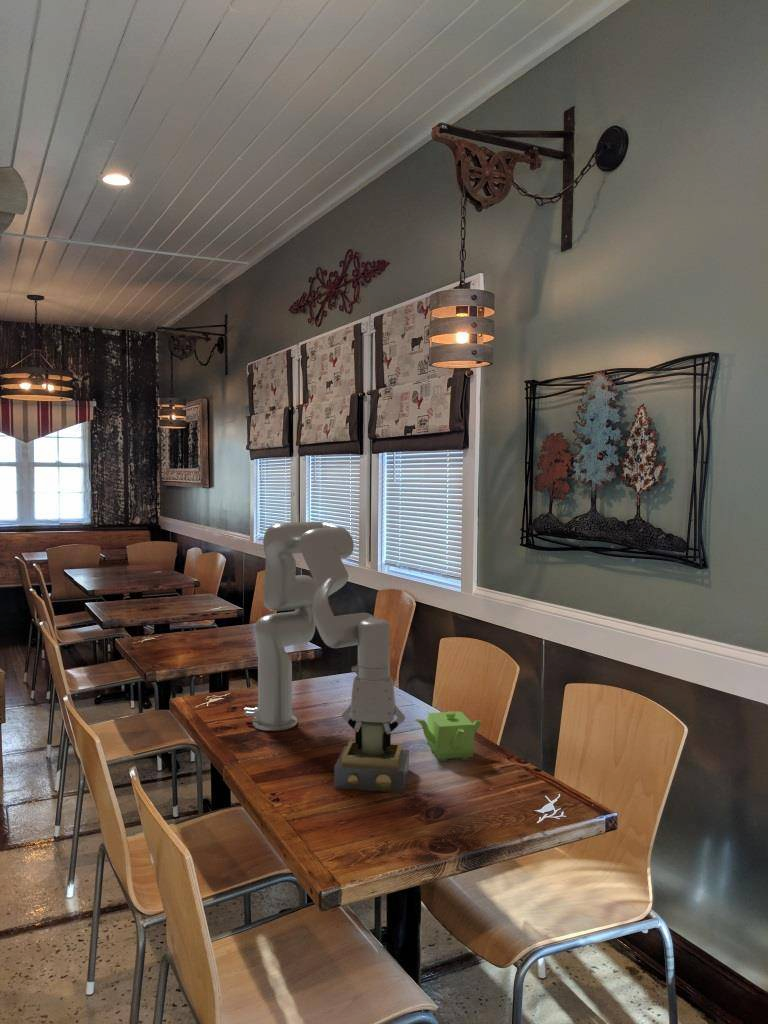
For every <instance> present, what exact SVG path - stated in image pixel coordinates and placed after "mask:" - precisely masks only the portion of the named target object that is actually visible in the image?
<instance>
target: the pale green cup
mask: <svg viewBox="0 0 768 1024" xmlns="http://www.w3.org/2000/svg"><path fill="white" fill-rule="evenodd" d="M384 733H385V728H384V725H383V723H369V722H362V723H361V753H362V754H364V755H367V756H379V755H382V754H384V752H385V751H384V750H383V746H384Z"/></svg>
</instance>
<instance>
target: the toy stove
mask: <svg viewBox="0 0 768 1024" xmlns="http://www.w3.org/2000/svg"><path fill="white" fill-rule="evenodd" d="M403 746H404V745H403V743H397V742H395V743H393V742H391V744H390V746H388V748H387V751H385V752H384V754H382V755H379V756H367V755H364V754H362V753H361V749H358V744H355V740H349V741H348V743H347V745H344V746H343V748H342V750H341V751H340V754H339V756H338V758H337V759H336V760H337V761H336V763H335V764H334V766H333V787H334V788H333V789H339V790H356V791H368V792H370V791H371V792H385V793H388V792H389V793H398V794H403V793H404V792H405V788H406V785H407V779H408V775H409V772H410V750H409V749H403Z"/></svg>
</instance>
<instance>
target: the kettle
mask: <svg viewBox="0 0 768 1024" xmlns="http://www.w3.org/2000/svg"><path fill="white" fill-rule="evenodd" d="M414 721H415V722H417V723H419V724H420V726H421V727H422V730H423V734H424V737H425V738H426V739H425V740H427V745H428V747H429V748H430V749H431V751H432V754H434V755H435V756H436V758H437V760H438V762H441V763H445V762H448V759H458V760H460V761H467V760H468V759H469V758H473V757H474V752H475V750H474V746H475V745H474V742H475V741H474V740H475V739H474V738H475V734H476V732H478V730H479V728H480V726H481V725H482V723H483V722H482V721H481V720H479V719H475V720H473V722H472V721H471V720H470V719H469V718H468V717H467V716H466V714H464V713H463V712H462V711H457V710H456V711H452V710H451V711H442V712H428V713H427V722H426V721H425V720H424V719H423V718H422V719H421V718H419V719H417V718H416V719H414Z"/></svg>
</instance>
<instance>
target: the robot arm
mask: <svg viewBox="0 0 768 1024" xmlns="http://www.w3.org/2000/svg"><path fill="white" fill-rule="evenodd" d="M262 541H263V542H262V543H263V544H262V545H263V546H262V547H263V551H264V559H265V567H264V580H263V592H262V593H263V596H262V600H263V605H264V607H265V608H266V609H267V610H269V611H272V612H278V613H271V614H266V615H264V616H261V617H260V618H258V620H257V621H256V622H255V624H254V631H253V632H254V638H255V642H256V643H255V644H256V650H257V701H258V702H257V706H256V707H255V708H254V707H245V708H243V714H244V715H245V717H249V718H250V717H251V718H252V717H253V719H252V727H254V728H255V729H258V730H261V731H266V732H278V731H285V730H288V729H289V730H290V729H292V728H294V727H295V726H297V724H298V718H297V717H296V716H295V715H293V713H292V712H293V710H292V709H293V706H292V705H293V700H292V699H293V664H292V659H291V657H290V656H289V655H288V653H287V652H286V650H285V647H287V648H288V647H292V646H298V645H302V644H303V645H304V644H307V643H308V642H310V641H312V639H313V637H314V635H315V632H316V629H317V631H318V635H319V636H320V638H321V640H322V641H323V643H324V644H325V645H326V646H328V647H329V648H332V649H339V648H345V647H353V646H357V664H356V665H355V666H352V665H351V672H352V673H355V675H356V676H355V677H354V679H353V682H352V688H351V699H350V700H351V701H350V704H349V706H348V707H347V708H346V709H345V710H344V711H343V712H342V714H341V715H340V716H341V719H343V720H344V721H345V722H346V723H347V724H348V725H349V726H350V728H351V729H353V731H354V734H355V740H354V741H355V744H358V749H361V723H362V722H369V723H383V725H384V728H385V733H384V746H383V750H384V751H387V748H388V746H390V744H391V743H392V741H391V740H392V739H391V737H392V736H391V735H392V732H393V731H394V730H395V729H396V728H398V726H399V725H401V724H402V723H403V722H404V721H405V719H406V716H405V715H404V713H403V712H402V711H401V710H400V709H399V707H397V705H396V697H395V696H396V695H395V687H394V680H393V677H392V676H391V675H390V673H391V672H390V669H391V668H390V667H391V662H390V661H391V659H390V657H391V653H390V652H391V625H390V623H389V622H388V621H387V620H385V619H382V618H377V617H375V615H372V614H371V613H368V612H358V613H357V612H356V613H349V614H341V615H334V613H333V610H332V609H331V606H330V604H329V597H330V596H331V595H332V594H334V593H336V592H337V591H338V590H340V589H341V588H343V587H344V586H345V585H346V583H347V582H348V580H349V572H348V570H347V569H346V567H345V566H346V565H345V564H344V562H343V560H345V559H347V558H349V557H350V556H351V555H352V554H353V553H354V540H353V537H352V535H351V533H350V532H349V531H348V530H347V529H346V528H345V527H342V526H339V525H336V524H331V523H329V522H324V521H302V522H300V521H297V522H294V521H293V522H292V521H291V522H282V523H281V522H280V523H274V524H272V525H270V526H268V528H267V529H266V531H265V532H264V535H263V540H262ZM293 554H295V555H297V554H301V555H302V557H303V559H304V561H305V563H306V566H307V568H308V570H309V572H310V574H311V576H310V575H306V574H299V575H296V571H297V562H296V561H297V560H296V558H295V556H294V555H293ZM342 559H343V560H342ZM290 610H291V611H290ZM292 610H294V611H292ZM283 611H287V612H283ZM395 716H396V719H395V718H394V717H395ZM394 719H395V720H394Z"/></svg>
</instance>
